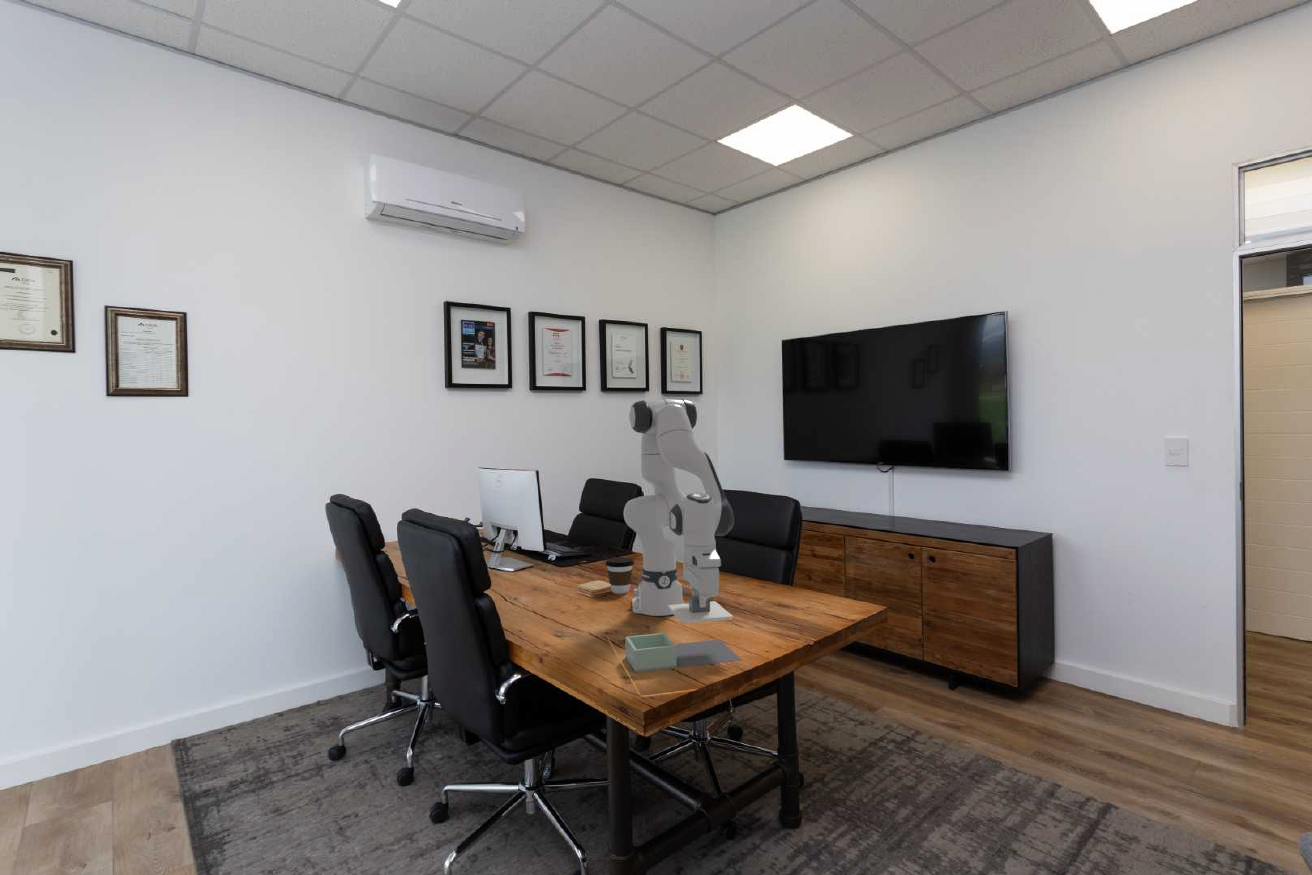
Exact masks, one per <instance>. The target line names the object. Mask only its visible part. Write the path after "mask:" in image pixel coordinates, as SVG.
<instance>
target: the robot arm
mask: <svg viewBox="0 0 1312 875" xmlns="http://www.w3.org/2000/svg"><path fill="white" fill-rule="evenodd" d="M628 417H629V423H630V426H631V428H632V430H633V431H634V432H635V433H638V434H641V435H642V436H641V445H640V446H641V447H640V448H641V451H640V454H641V455H640V460H641V462H640V463H641V469H640V470H641V477H642V478H643V479H644V481H645V482H647V483H649V484H651V486H652V488H653V490H654V491H653V492H654V494H651V495H643V496H642V495H641V496H638V497H635V498H633V499H630V500H628V501H627V502H626V503H625V505H624V509H623V519H624V522H625V524H626V525H627V526H628V527H629V528H631V529H632V530H633V531H634V532H635V533H636V534H637V537H638V538H639V541H640V544H641V548H642V569H641V580H640V582H639V584H638V586H637V588H633V596H634V597H633V598H632V599H631V607H632V613H634V614H642V615H647V616H653V617H655V616H657V617H663V616H670V615H674V614H673V613H672V612H671V611H670V610H669V609H668V605H676V604H686V603H685V602H684V599H683V585H682V583H681V582H679V580H678V574H679V572H678V568H677V552H676V546H675V544H674V542H673V541H671V540H670V539H669V538H667V537H665V534H664V529H663V528H665V527H666V528H667V527H669V529H670V530H671V532H673V533H674V534H675V535H677V536H679V537H684V538H683V543H682V544H683V546H682V549H683V550H682V551H683V553H682V554H683V555H682V560H683V565H682V577H683V579H684V580H685V582H687V583H688V584H689V585H690V586H691V592H692V597H696V596H699V600H698V605H699V606H700V607H706V600H707V597H709V598H713V597H717V595H718V593H719V589H720V588H719V587H720V585H719V584H720V570H719V569H720V568H719V567H721V566H722V560H721V558H720V556H719V554H718V551H717V548H716V547H717V546H716V538H715V537H725V536H726V535H727V534H728V533H729V532H730V531H731V530H732V529H733V528H734V526H735V525H734V524H735V515H734V511H733V509H732V507H731V504H730V503H729V501H728V498H727V496H726V494H725V492H724V489H723V488H722V485H721V482H720V480H719V477H718V474H717V472H716V469H715V466H714V465H713V464H714V463H713V461H712V460H711V457H710V456H709V454H708V453H707V452H705V451H704V450H702V448H700V446H699V445H698V443H697V442H696V440H695V437H694V432H693V429H694V428H695V427H696V424H697V420H698V411H697V407H696V405H695V404H694V402H693V401H691V400H687V399H674V398H672V399H671V398H662V399H651V400H639V401H636V402H634V403H633V404H632V405H631V407H630V411H629V416H628ZM676 469H679V470H682V471H685V472H688V473H690V474H691V475H694V476H696V477H697V478H698V479H699V480H700V481H701V483H702V486H703V489H704V492H705V493H702V492H693V493H690V494H687V495H686V494H685V493H684V492H683V491H682V490H681V488H680V486H679V483H678V481H677V478H676Z"/></svg>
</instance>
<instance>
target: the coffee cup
mask: <svg viewBox="0 0 1312 875" xmlns="http://www.w3.org/2000/svg"><path fill="white" fill-rule="evenodd" d="M604 564H605V566H606V567H607V576H608V580H609V584H610V589H611V592H612V593H613V594H616V595H619V594H628V593H629V591H630V586H631V582H632V574H633V566H634V565H635V561H634V558H632V557H627V556H626V557H625V556H617V557H615V556H614V557H611V558H607V559H606V561H605V563H604Z"/></svg>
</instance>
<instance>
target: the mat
mask: <svg viewBox="0 0 1312 875" xmlns="http://www.w3.org/2000/svg"><path fill="white" fill-rule="evenodd" d="M674 644H675V645H676V662H677V666H679V668H686V667H687V668H688V667H696V666H697V667H698V666H705V665H715V664H721V663H730V662H738V661H740V662H741V661H743V659H742V658H741V657H739V655H737V654H736V653H735V652H734V651H733V650H732V649H731V648H729V647H728V645H726V643H724V642H723V641H722V640H721V639H711V640H704V641H703V640H702V641H692V642H685V643H674Z"/></svg>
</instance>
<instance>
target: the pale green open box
mask: <svg viewBox="0 0 1312 875" xmlns="http://www.w3.org/2000/svg"><path fill="white" fill-rule="evenodd" d="M624 638H625V639H624V641H625V643H624V645H625V659H626V660H627V663H628V664H629V666H630V667H631V669H632V670H633V673H634V674H636V673H646V672H654V671H662V670H671V669H677V668H678V667H677V666H678V664H677V662H676V645H675V644H676V643H674V642H673V640H672V639H671V638H670V637H669V636H668V634H667V633H666V632H659V633H658V632H657V633H651V634H648V633H647V634H641V635H632V636H625V637H624Z"/></svg>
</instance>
